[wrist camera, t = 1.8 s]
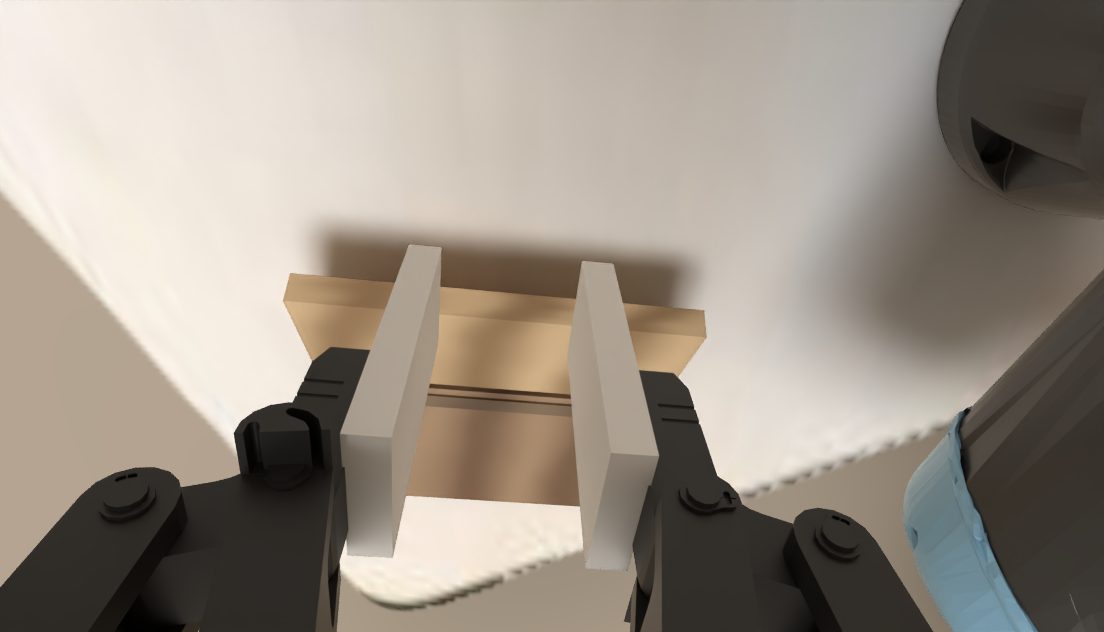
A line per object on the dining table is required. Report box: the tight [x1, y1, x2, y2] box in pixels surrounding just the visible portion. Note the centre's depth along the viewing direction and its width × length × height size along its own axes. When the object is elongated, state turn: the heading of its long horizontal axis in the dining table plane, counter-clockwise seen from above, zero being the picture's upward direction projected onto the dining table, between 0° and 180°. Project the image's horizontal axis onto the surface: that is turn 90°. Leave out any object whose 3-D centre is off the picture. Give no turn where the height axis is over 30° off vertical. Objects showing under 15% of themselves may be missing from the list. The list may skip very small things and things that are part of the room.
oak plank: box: [283, 273, 706, 394], centre depth 35 cm, size 20×9×2 cm, turn 83°
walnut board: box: [406, 384, 580, 506], centre depth 42 cm, size 20×9×2 cm, turn 83°
